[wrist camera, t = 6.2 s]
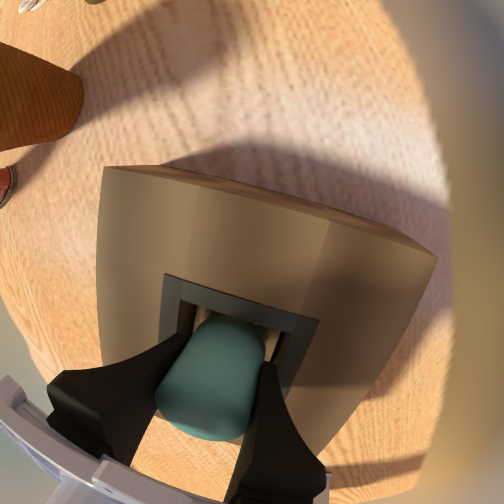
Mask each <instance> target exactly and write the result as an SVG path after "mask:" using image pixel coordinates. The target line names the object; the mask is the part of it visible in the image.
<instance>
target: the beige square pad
mask: <svg viewBox="0 0 504 504" xmlns="http://www.w3.org/2000/svg"><path fill="white" fill-rule="evenodd" d="M220 315H226V314H223V313H220V312H217V311H214V310H211V309H208V308H205V307H202V306H199V305H197V310H196V316H195V323H194V329H193V333H194V332H195V330H196V329H197V327H198V326H199V325H200V324H201V323H202V322H203V321H204V320H206V319H208V318H210V317H213V316H220ZM227 316H229V315H227ZM244 321H246V320H244ZM246 322H248V323H249V324H251V325H252V326H253V327H254V328H255V329H256V330H257V331H258V332H259V333H260V334H261V336H262V338H263V340H264V342H265V346H266V354H265V359H264V361H268V362H270V359H271V356H272V354H273V351H274V348H275V346H276V343H277V340H278V338H279V335H280V332H281V331H280V330H277V329H273V328H269V327H266V326H262V325H259V324H256V323H252V322H249V321H246Z"/></svg>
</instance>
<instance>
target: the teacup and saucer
mask: <svg viewBox="0 0 504 504" xmlns="http://www.w3.org/2000/svg"><path fill="white" fill-rule="evenodd" d="M46 1H47V0H43V1H42V2H40V3H39V4H35V3H36V2H37V0H24V1H23V2H22V3H21V5H20V7H19V10H18V12H19V13H20V14H23V13H25V12H27V11H28V10H30V11H33V10H36V9H37V8H39V7H40V6H41V5H42V4H44V3H45V2H46Z"/></svg>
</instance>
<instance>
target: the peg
mask: <svg viewBox="0 0 504 504" xmlns="http://www.w3.org/2000/svg"><path fill="white" fill-rule="evenodd" d="M265 354H266V346H265V342H264V340H263V338H262V336H261V334H260V333H259V332H258V331H257V330H256V329H255V328H254V327H253V326H252V325H251V324H249V323H248V322H246V321H244V320H242V319H239V318H236V317H233V316H227V315H220V316H213V317H210V318H208V319H206V320H204V321H203V322H202V323H201V324H200V325H199V326H198V327H197V329H196V330H195V332H194V333H193V335H192V336H191V338H190V339H189V341H188V342H187V344H186V345H185V347H184V348H183V350H182V351H181V353H180V354H179V356H178V357H177V359H176V360H175V362H174V364H173V365H172V367H171V368H170V370H169V371H168V373H167V374H166V376H165V377H164V379H163V380H162V382H161V383H160V385H159V386H158V388H157V389H156V392H155V402H156V405H157V407H158V409H159V411H160V412H161V414H162V415H163V416H164V417H165V418H166V419H167V420H168V421H169V422H170V423H171V424H172V425H174V426H175V427H176V428H178V429H179V430H181V431H183V432H185V433H187V434H189V435H192V436H194V437H197V438H200V439H204V440H209V441H229V440H233V439H236V438H238V437H240V436H242V435H243V434H244V433H245V432H246V430H247V428H248V425H249V421H250V417H251V413H252V409H253V405H254V401H255V396H256V391H257V385H258V379H259V375H260V371H261V367H262V364H263V361H264V359H265Z"/></svg>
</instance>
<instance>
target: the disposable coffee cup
mask: <svg viewBox="0 0 504 504" xmlns="http://www.w3.org/2000/svg"><path fill="white" fill-rule="evenodd" d="M82 101H83V84H82V81H81V79H80V78H79V77H78V76H77V75H75V74H73V73H71V72H69V71H67V70H65V69H63V68H60V67H58V66H56V65H54V64H52V63H50V62H48V61H45V60H43V59H41V58H38V57H36V56H34V55H32V54H29V53H27V52H24V51H22V50H20V49H17V48H15V47H12V46H10V45H7V44H4V43H1V42H0V152H1V151H5V150H10V149H14V148H18V147H23V146H28V145H33V144H38V143H43V142H49V141H55V140H58V139H61V138H62V137H64V136H65V135H66V134H67V133H68V132H69V131H70V129H71V128H72V127H73V125H74V123H75V122H76V120H77V117H78V115H79V112H80V109H81V106H82Z"/></svg>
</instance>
